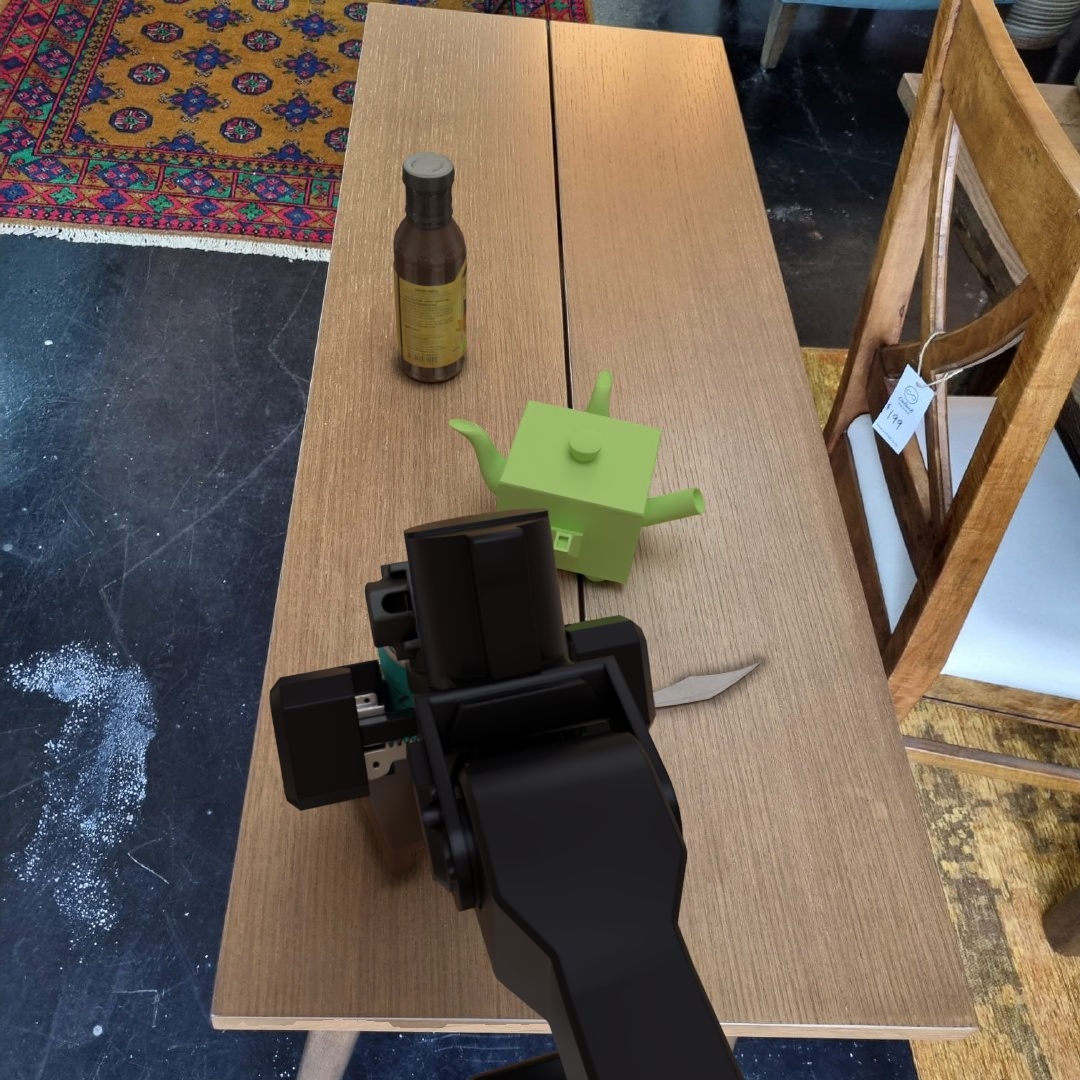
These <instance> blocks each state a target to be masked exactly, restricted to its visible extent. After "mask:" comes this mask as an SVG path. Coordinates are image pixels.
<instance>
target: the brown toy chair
mask: <svg viewBox="0 0 1080 1080" xmlns="http://www.w3.org/2000/svg"><path fill="white" fill-rule="evenodd" d="M379 666H380V670H381V674H382V676H384V674H383V670H382V667H381V663H379ZM397 742H398V744H400V742H401V739H397ZM369 788H370V796H368V797H363V798H359V800H360V802H361V805H362V807H363V809H364V811H365V815H366V816H367V819H368V821H369V823H370V826H371V828H372V830H373V833H374V835H375V838H376V839H377V842H378V844H379V847H380V849H381V851H382V853H383V856H384V858H385V861H386V863H387V865H388V868H389V869H390V872H391V875H392V877H393V878H394V879H397V878H399V877H401V876H403V875H406V874H408V873H410V872H412V870H413V869H412V868H413V867H412V866H413V865H412V854H413V853H415V852H417V851H419V850H422V849H423V848H424V849H425V848H426V846H425V842H424V837H423V833H422V828H421V823H420V819H419V814H418V809H417V805H416V800H415V796H414V791H413V786H412V782H411V777H410V772H409V768H408V764H407V760H406V759H403V760H398V761H395V774H392V775H387V776H383V777H381V778H378V779H373V780H369Z"/></svg>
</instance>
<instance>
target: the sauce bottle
mask: <svg viewBox="0 0 1080 1080" xmlns="http://www.w3.org/2000/svg"><path fill="white" fill-rule="evenodd" d="M401 166H402V168H401V169H402V171H401V172H402V173H401V180H402V183H403V184H404V187H405V188H404V189H405V190H404V191H405V207H404V213H405V217H404V218H402V220H401V221H400V222H399V224H398V227H397V228H396V230H395V233H394V235H393V236H394V237H393V243H392V245H393V246H392V248H393V263H392V265H393V266H392V267H393V287H394V289H393V290H394V305H395V306H394V309H395V323H396V325H395V326H396V340H397V341H396V343H397V345H396V346H397V349H398V350H397V351H398V354H399V355H398V357H399V363H400V367H401V368H402V371H403V372H404V373H405V374H406V375H407V376H408V377H410V378H413V379H415V380H417V381H421V382H427V383H435V382H441V381H445V380H449V379H450V378H452V377H454V376H456V375H457V374H459V372H460V371H461V369H462V368H463V366H464V363H465V352H466V349H467V293H468V292H467V291H468V289H467V288H468V287H467V285H468V277H467V275H468V274H467V273H468V249H467V244H466V240H465V236H464V232H463V231H462V229H461V227H460V226H459V224H458V223H457V222H456V220H455V219H454V217H453V215H454V208H453V193H452V192H453V184H454V182H455V174H456V173H455V171H456V170H455V167H454V163H453V161H452V160H451V159H450V158H449V157H448V156H446V155H443V154H441V153H436V152H434V151H421V152H416V153H413V154H410V155H408V156H407V157H406V158H405V159H404V160H403V162H402V165H401Z"/></svg>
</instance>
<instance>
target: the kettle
mask: <svg viewBox="0 0 1080 1080" xmlns="http://www.w3.org/2000/svg"><path fill="white" fill-rule="evenodd" d="M613 381H614V378H613V373H612V371H610V370H609V369H603V370H602V371H601V372H600V373H598V375H597V378H596V380H595V383H594V386H593V390H592V393H591V396H590V399H589V401H588V404H587V406H586V408H585V410H584V411H583V410H579V409H578V410H577V409H573V408H570V407H564V406H560V405H554V404H551V403H545V402H541V401H536V400H532V399H531V400H529V399H528V400H527V401H526V405H525V406H524V407H525V408H524V411H523V414H522V416H521V419H520V422H519V424H518V426H517V430H516V432H515V436H514V438H513V441H512V444H511V447H510V450H509V453H508V455H507V457H506V456H505V455H502V453H500V451H499V450H498V449H497V447H496V446H495V444H494V442H493V440H492V438H491V437H490V435H489V434H488V433H487V431H486V430H484V429H483V428H482V427H481V426H480V425H478V424H476V423H475V422H472V421H470V420H466V419H460V418H453V419H452V418H451V419H450V420H448V425H449V426H450V427H451V428H452V429H453V430H454V431H456V432H457V433H459V434H461V435H462V436H463V437H465V438H466V439H467V441H468V442H469V443H470V445H471V446H472V448H473V450H474V453H475V455H476V460H477V464H478V468H479V471H480V475H481V477H482V480H483V482H484V484H485V485H486V487H487V488H488V490H489V491H490V492H491V493H492V494H493V495H495V497H497V498H496V511H495V512H499V511H508V510H519V509H547V510H548V513H549V518H550V525H551V532H552V539H553V547H554V554H555V561H556V568H557V569H560V570H564V571H567V572H572V573H576V574H582V575H583V576H584V577H585V578H586V579H587V580H590V581H592V582H596V583H597V582H599V583H600V582H603V581H605V580H607V581H610V582H614V583H620V584H624V585H627V584H628V582H629V581H628V580H629V577H630V573H631V569H632V564H633V561H634V557H635V553H636V549H637V545H638V541H639V537H640V533H641V529H642V528H645V527H650V526H654V525H659V524H663V523H667V522H673V521H676V520H681V519H687V518H691V517H695V516H700V515H703V514H704V513H705V510H706V502H705V498H704V495H703V492H702V491H701V489H700V488H698V487H696V486H695V487H691V488H687V489H683V490H679V491H673V492H670V493H666V494H661V495H657V496H653V497H649V495H650V490H651V486H652V481H653V477H654V476H653V475H654V472H655V467H656V463H657V459H658V453H659V450H660V444H661V440H662V436H663V429H662V428H658V427H653V426H649V425H645V424H641V423H638V422H637V423H636V422H632V421H627V420H623V419H618V418H615V417H610V399H611V392H612V387H613Z"/></svg>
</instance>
